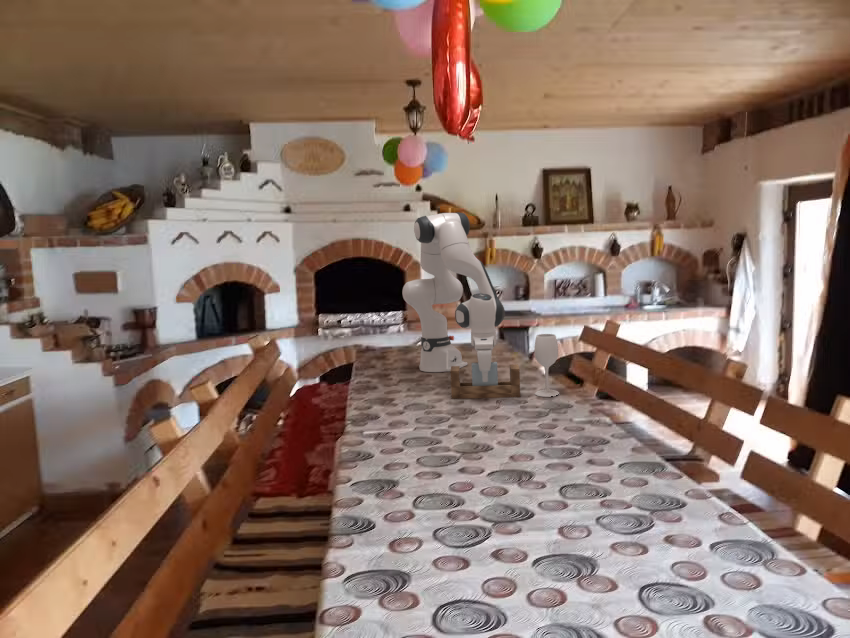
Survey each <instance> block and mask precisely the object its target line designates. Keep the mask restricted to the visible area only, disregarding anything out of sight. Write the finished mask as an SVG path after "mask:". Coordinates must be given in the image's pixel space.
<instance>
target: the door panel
mask: <svg viewBox="0 0 850 638" xmlns="http://www.w3.org/2000/svg"><path fill="white" fill-rule="evenodd" d="M498 372H499V371H498V362H497V361H494V362H493V361H491V368H490V371H488V381H487V382H483V378H482V371H480V369H479V364H478V362H471V382H472V386H493V385H498V381H499V379H498V377H499V376H498V375H499V374H498Z"/></svg>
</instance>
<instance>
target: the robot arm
mask: <svg viewBox="0 0 850 638" xmlns="http://www.w3.org/2000/svg"><path fill="white" fill-rule="evenodd" d="M470 228H471V225H470V219H469V216H467V215H466V214H465V213H464V212H458V211H457V212H442V213H435V214H432V215H427V216H426V215H423V216H422V215H421V216H420V217H418V218H416V219H415V222H414V227H413V232H414V233H413V234H414V236H415V238H416V240H417V241H418V242H419V243H420V267H421V269H422V270H423V271H424V272H425V273H427V274H428V275H429V274H430V275H432V276H433V277H432V278H421V279H419V278H418V279H417V278H416V279H413V280H409V281H407V282H406V283H405V284H404V285H403V287H402V291H401V292H402V298H403V300H404V301H405V302H406V304H408V305H409V306H410V307H412V309H414V310H415V312H416V313H417V315H418V318H419V320H420V327H421V337H420V345H421V349H420V364H419V365H418V368H419V370H420V371H421V372H425V373H442V372H444V373H445V372H450V371H451V366H460V369H461V368H464V367H466V366H468V362H467V361H464V360H463V358H462V353H461V350H459V349H458V348H456V346H454V345H453V344H452V342H451V341H454V338H455V336H454V335H448V334H449V333H448V332H449V331H448V319H447V317H446V316H445V315H444V314H442V313H441V312H439V311H436V310H434V309H433V305H443V304H451V303H455V302H458V301H460V300H461V298H462V296H463V295H464V288H463V287H464V286H463V284H462V283H461V281H460V280H459V279H458V278H456V277H455V276H454V275H453V274H452V273H455V274H457V275H462V276H465V277H468V278H470V279H471V280H472V281H474V282H475V284H476V286H477V288H478V291H479V293H473V294H472V295H470V299H468V300H466V301H464V302H461V303H459V304H458V305H457V306H456V309H455V310H454V311H455V312H454V319H455V322H456V324H457V325H458V326H459V327H461V328H463V329H470V342H471V346H472V347H474V350H475V352H476V357H477V363H478V364H479V369H480V371H482V378H483V382H487V381H488V371H490V368H491V362H492V355H493V354H492V353H493V350H494V348H495V346H496V345H497V330H496V328H497V327H498V326H500V324H501V323H502V322H504V320H505V317H506V310H505V307H504V305H503V303H502V301H501V300H500V298H499V297H498V295H497V293H496V290H495V287H494V286H493V283H492V281H491V278H490V276H489V274H488V271H487V269H486V267H485V265H484V263H483V261H481V260H480V259H478V258H477V257H476V256H475V254H474V253H473V251H472V249H471V246H470V242H469V238H468V235H469V234H470Z"/></svg>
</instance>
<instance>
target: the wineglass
mask: <svg viewBox="0 0 850 638" xmlns="http://www.w3.org/2000/svg"><path fill="white" fill-rule="evenodd" d="M557 339H558V338H557V336H556V334H552V333H541V334H540V333H539V334H537V335H536V336H535V340H534V358H535V359H536V361H537V363H538V364H540V366H542V367H543V368H544V372H545V374H544V375H545V384H544V385H545V386H544V389H540V390H537V391H535V392H534V395H535V396H537V397H544V398H552V397H551V396H553V397H557V396H556V395H558V394H559V393H560V392H559V391H557V390H554V389H551V388H550V385H549V384H550V383H549V370H550V369H549V368H550V367H551V366H553V365H554V364H555V363H556V362H557V360H558V357H559V345H558V340H557ZM559 395H560V394H559ZM559 395H558V396H559Z"/></svg>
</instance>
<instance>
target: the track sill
mask: <svg viewBox="0 0 850 638" xmlns="http://www.w3.org/2000/svg"><path fill="white" fill-rule="evenodd" d="M460 369H461V368H460V366H451V371H449V372H450V390H451V394H450V395H451V400H455V399H457V400H459V399H463V400H464V399H496V398H499V399H500V398H501V399H502V398H521V376H520V373H521V372H520V371H521V370H520V366H519V364H518V363H515V364H509V380H507V381H505V380H504V381H501V380H500V381H499V380H498V385H493V386H472V381H469V382H468V381H467V382H461V370H460Z"/></svg>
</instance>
